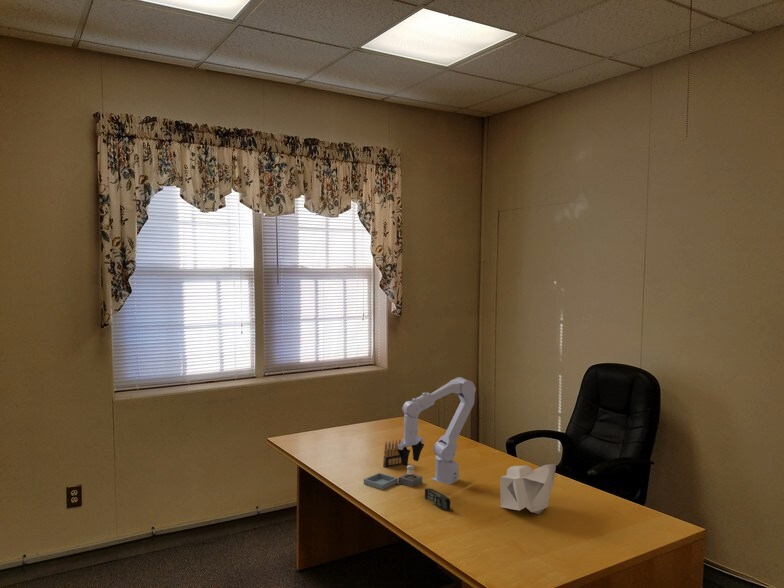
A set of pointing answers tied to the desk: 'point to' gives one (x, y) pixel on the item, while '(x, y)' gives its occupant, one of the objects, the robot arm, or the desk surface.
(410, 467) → the fuse
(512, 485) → the folded paper
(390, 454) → the ammunition clip
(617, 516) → the desk surface
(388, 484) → the parts tray
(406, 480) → the grey square holder
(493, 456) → the desk surface
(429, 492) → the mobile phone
